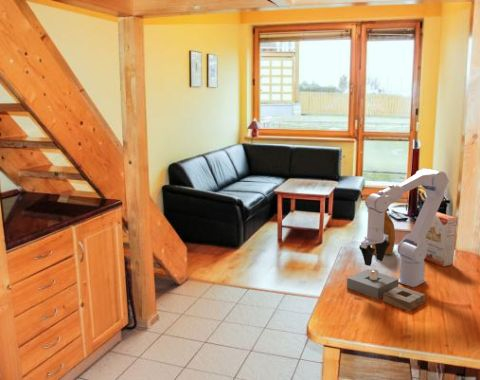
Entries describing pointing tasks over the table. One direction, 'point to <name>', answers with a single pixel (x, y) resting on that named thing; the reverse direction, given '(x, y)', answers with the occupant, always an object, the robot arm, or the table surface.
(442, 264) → the cracker box
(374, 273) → the metal peg
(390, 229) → the coffee package
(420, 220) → the robot arm
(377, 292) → the grey square hole plate
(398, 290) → the socket block
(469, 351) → the table surface
